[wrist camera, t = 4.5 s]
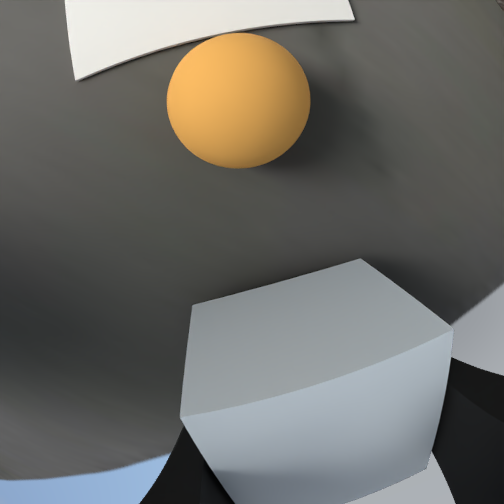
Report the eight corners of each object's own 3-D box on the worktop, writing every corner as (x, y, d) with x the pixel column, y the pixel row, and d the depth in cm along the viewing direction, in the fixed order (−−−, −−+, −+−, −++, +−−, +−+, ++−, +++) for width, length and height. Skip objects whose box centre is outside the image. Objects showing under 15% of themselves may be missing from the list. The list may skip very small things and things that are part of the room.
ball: (252, 186, 11) (274, 206, 7) (153, 130, 10) (123, 121, 6) (311, 93, 10) (359, 71, 6) (215, 36, 9) (218, -15, 5)
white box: (370, 383, 12) (426, 468, 7) (238, 423, 12) (252, 526, 7) (360, 258, 11) (454, 328, 6) (192, 305, 10) (179, 417, 5)
